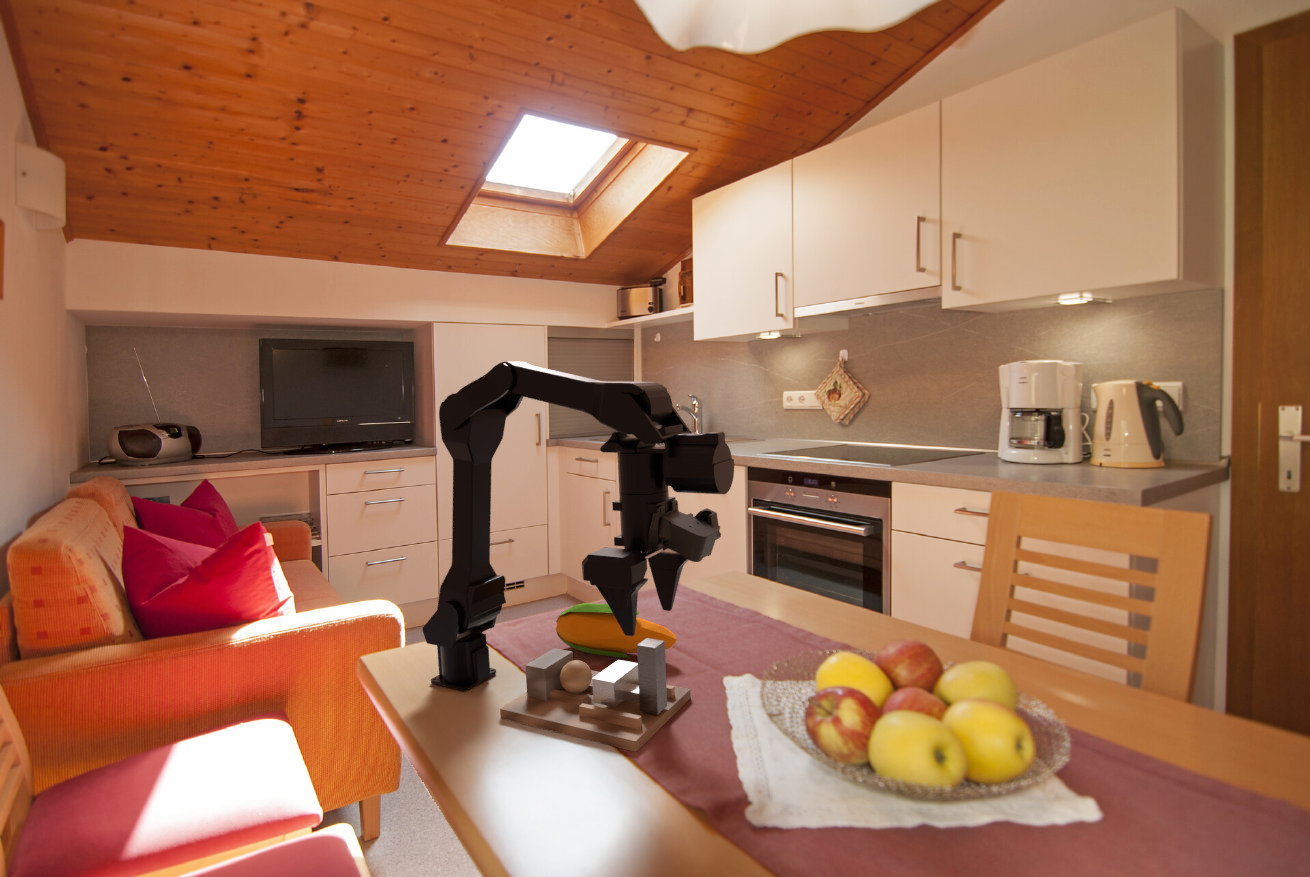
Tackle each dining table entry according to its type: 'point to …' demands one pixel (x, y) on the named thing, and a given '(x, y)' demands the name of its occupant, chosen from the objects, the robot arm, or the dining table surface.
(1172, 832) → the dining table surface
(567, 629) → the corn
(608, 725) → the base
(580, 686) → the tan wooden ball
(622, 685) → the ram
